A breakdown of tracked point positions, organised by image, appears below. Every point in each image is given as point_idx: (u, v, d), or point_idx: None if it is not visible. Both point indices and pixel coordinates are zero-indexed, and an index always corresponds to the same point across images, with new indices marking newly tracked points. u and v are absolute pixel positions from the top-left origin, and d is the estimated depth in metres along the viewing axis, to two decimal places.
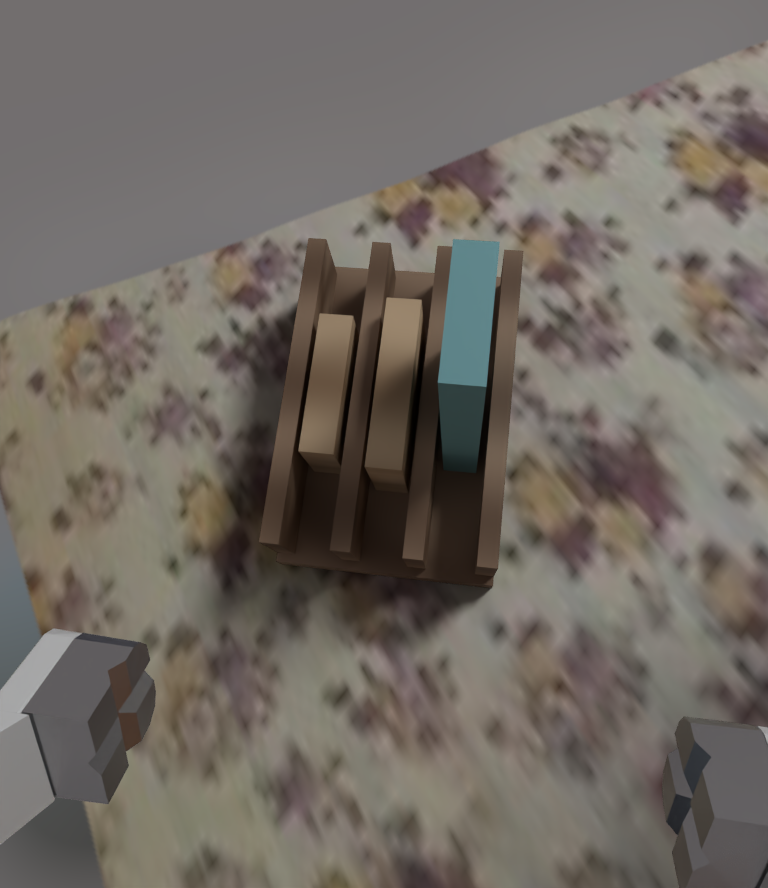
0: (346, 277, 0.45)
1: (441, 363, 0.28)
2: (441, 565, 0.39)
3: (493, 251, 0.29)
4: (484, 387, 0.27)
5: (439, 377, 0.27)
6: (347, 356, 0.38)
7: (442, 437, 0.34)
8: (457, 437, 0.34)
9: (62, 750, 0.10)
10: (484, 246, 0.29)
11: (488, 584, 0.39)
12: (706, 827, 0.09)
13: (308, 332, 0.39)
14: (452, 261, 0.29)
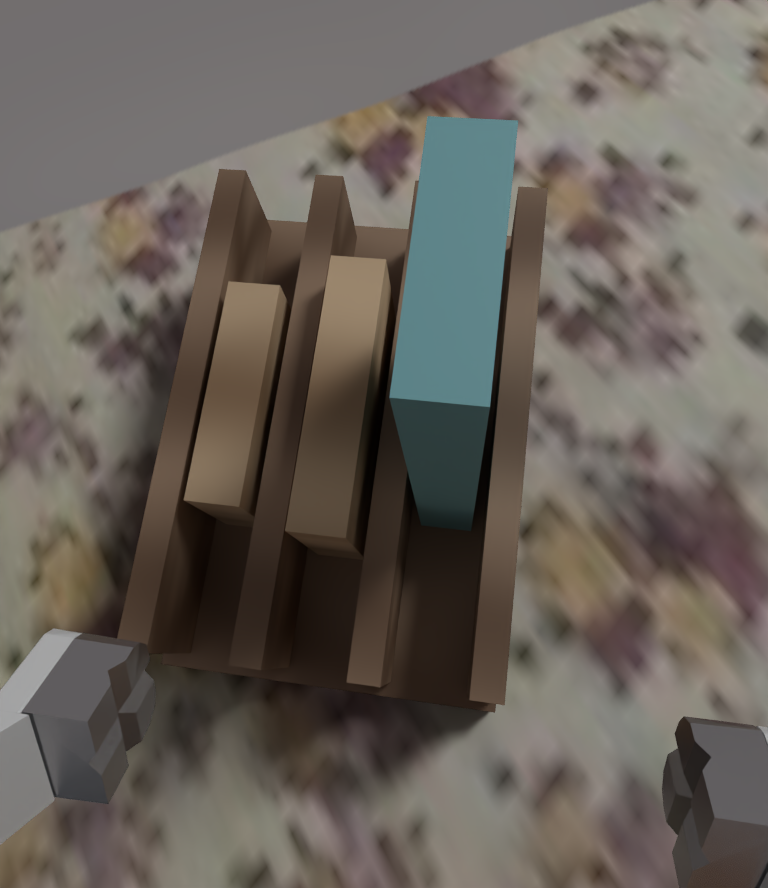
0: (284, 235, 0.30)
1: (398, 357, 0.13)
2: (415, 676, 0.25)
3: (506, 137, 0.14)
4: (485, 408, 0.13)
5: (393, 386, 0.13)
6: (269, 349, 0.24)
7: (413, 486, 0.20)
8: (438, 487, 0.20)
9: (62, 750, 0.10)
10: (489, 128, 0.15)
11: (488, 709, 0.25)
12: (706, 827, 0.09)
13: (211, 311, 0.25)
14: (425, 157, 0.14)
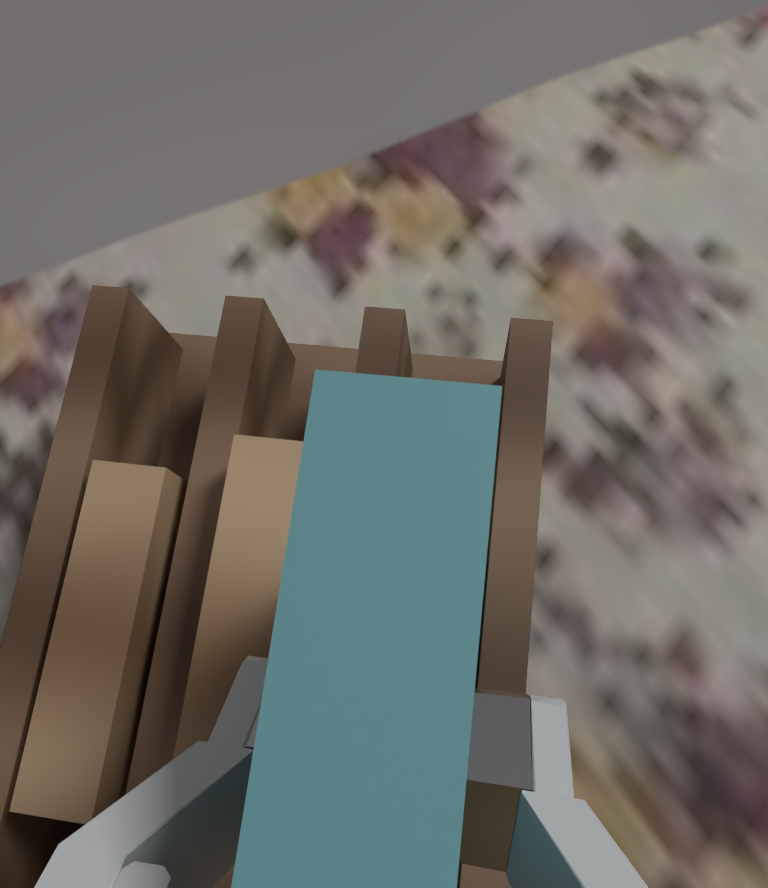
0: (200, 355, 0.23)
1: None
2: None
3: (478, 424, 0.07)
4: None
5: None
6: (147, 565, 0.17)
7: None
8: None
9: None
10: (441, 401, 0.07)
11: None
12: None
13: (71, 499, 0.18)
14: (305, 467, 0.07)
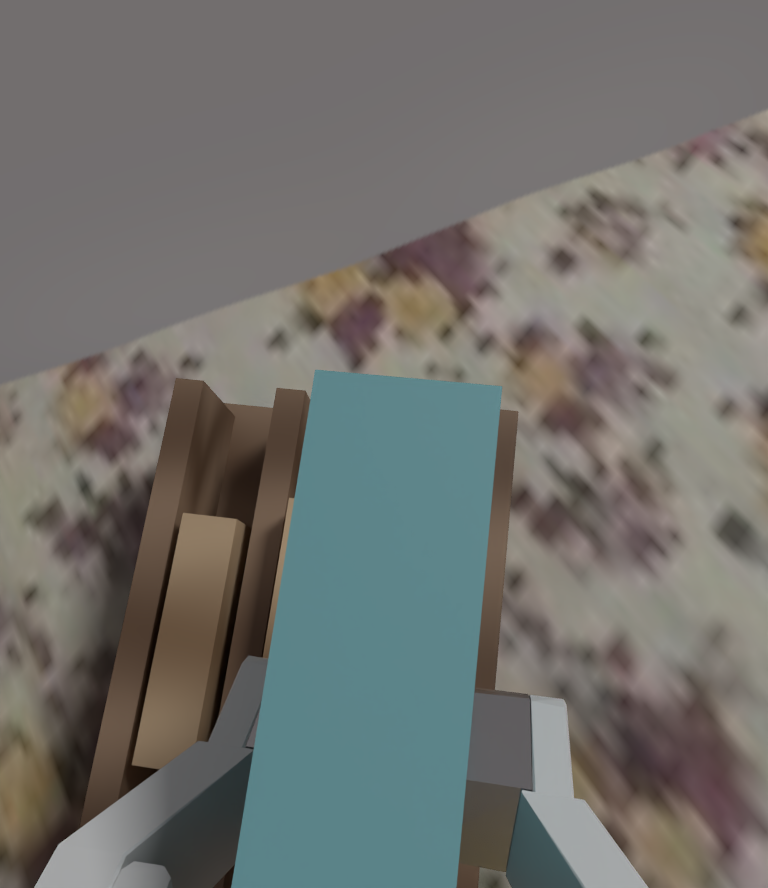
0: (248, 421, 0.29)
1: None
2: None
3: (478, 424, 0.07)
4: None
5: None
6: (224, 590, 0.23)
7: None
8: None
9: None
10: (441, 402, 0.07)
11: None
12: None
13: (165, 541, 0.24)
14: (305, 467, 0.07)
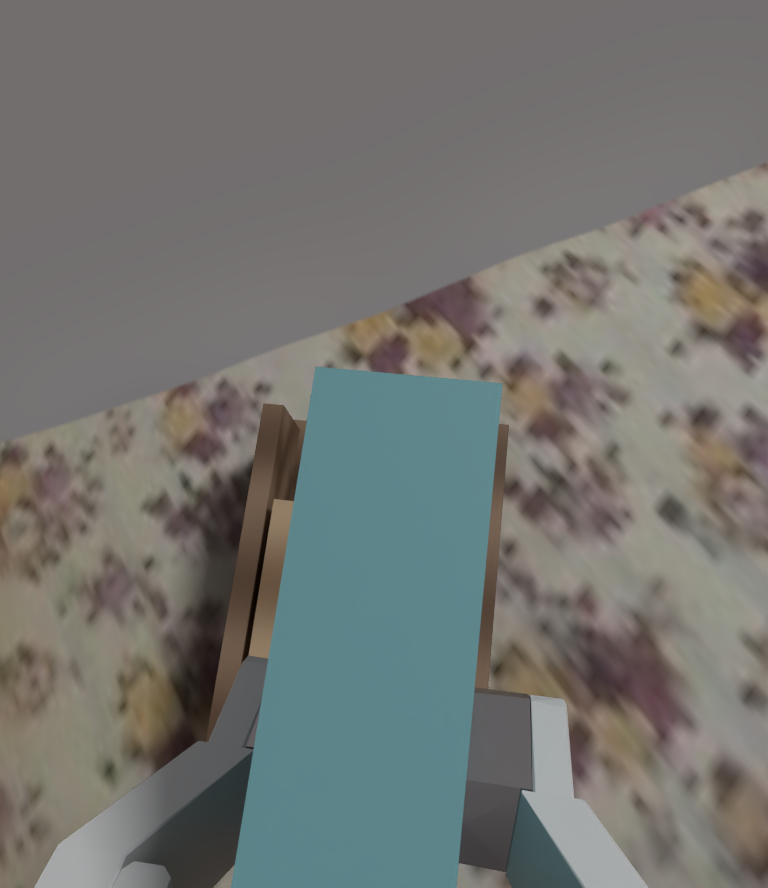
0: None
1: None
2: None
3: (479, 422, 0.07)
4: None
5: None
6: None
7: None
8: None
9: None
10: (442, 399, 0.07)
11: None
12: None
13: (261, 519, 0.34)
14: (306, 464, 0.07)
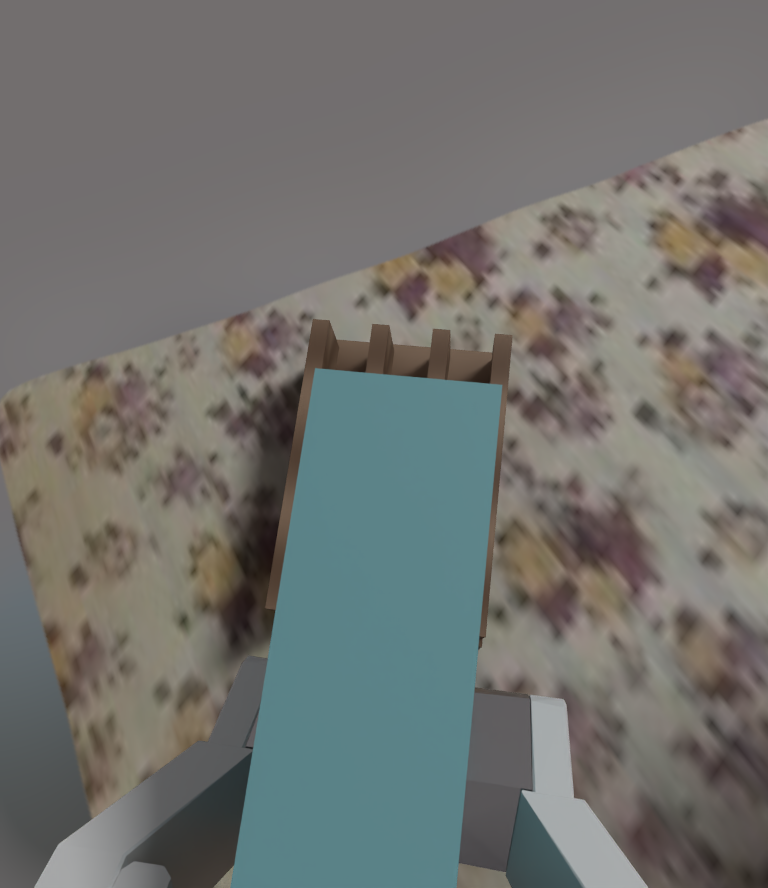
0: (347, 350, 0.48)
1: None
2: None
3: (477, 423, 0.07)
4: None
5: None
6: None
7: None
8: None
9: None
10: (441, 401, 0.07)
11: None
12: None
13: None
14: (305, 465, 0.07)
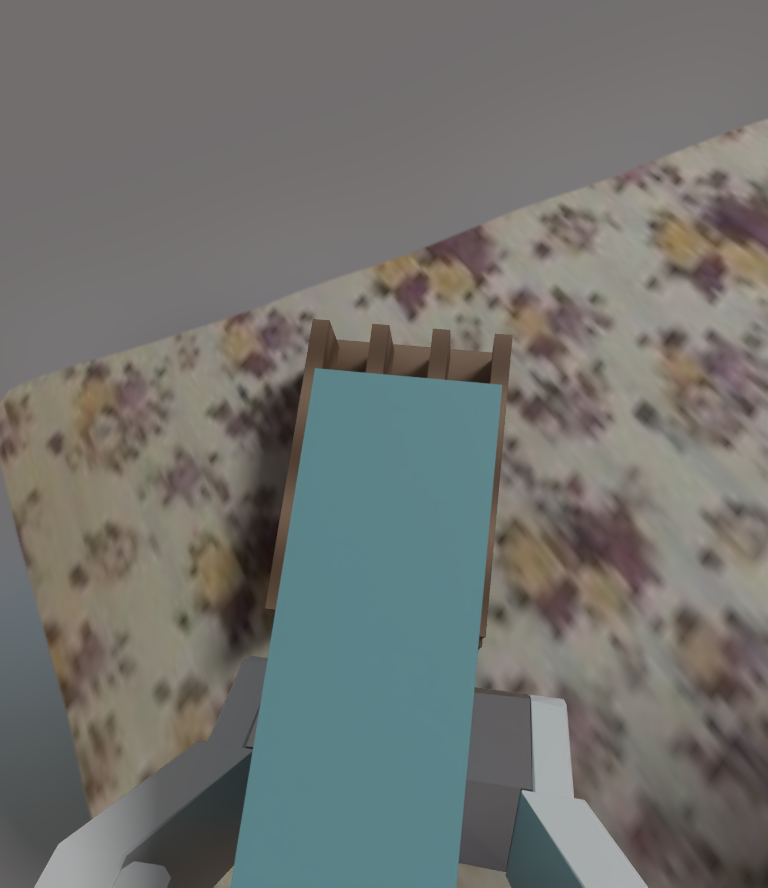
0: (347, 350, 0.48)
1: None
2: None
3: (478, 424, 0.07)
4: None
5: None
6: None
7: None
8: None
9: None
10: (441, 401, 0.07)
11: None
12: None
13: None
14: (305, 466, 0.07)
